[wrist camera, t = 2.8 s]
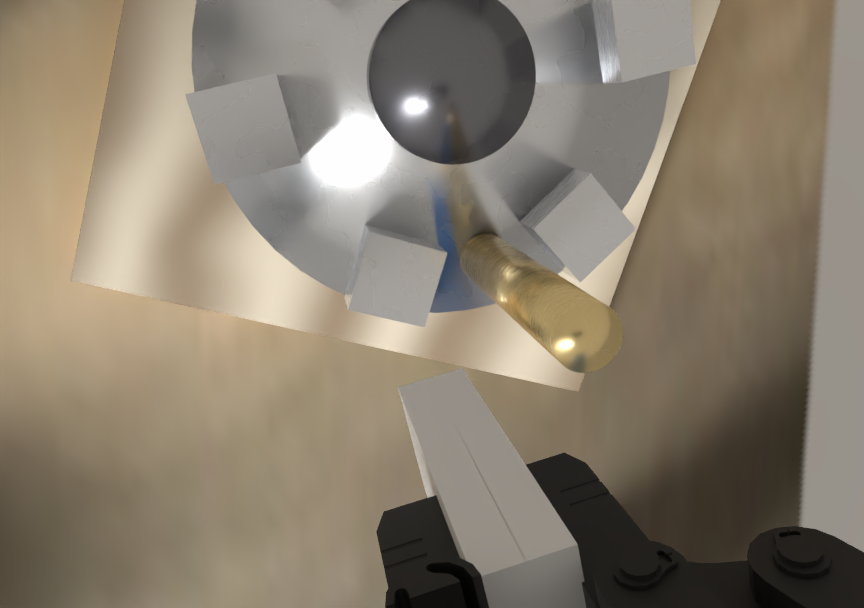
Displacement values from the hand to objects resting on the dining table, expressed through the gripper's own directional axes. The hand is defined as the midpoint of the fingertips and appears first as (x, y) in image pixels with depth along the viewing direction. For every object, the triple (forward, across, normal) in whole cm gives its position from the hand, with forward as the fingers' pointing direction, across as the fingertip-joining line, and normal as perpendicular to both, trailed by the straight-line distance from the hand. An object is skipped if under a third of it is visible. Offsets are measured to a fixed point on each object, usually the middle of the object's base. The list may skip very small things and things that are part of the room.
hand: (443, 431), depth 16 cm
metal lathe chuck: (+17, -4, -7) cm, 19 cm away
